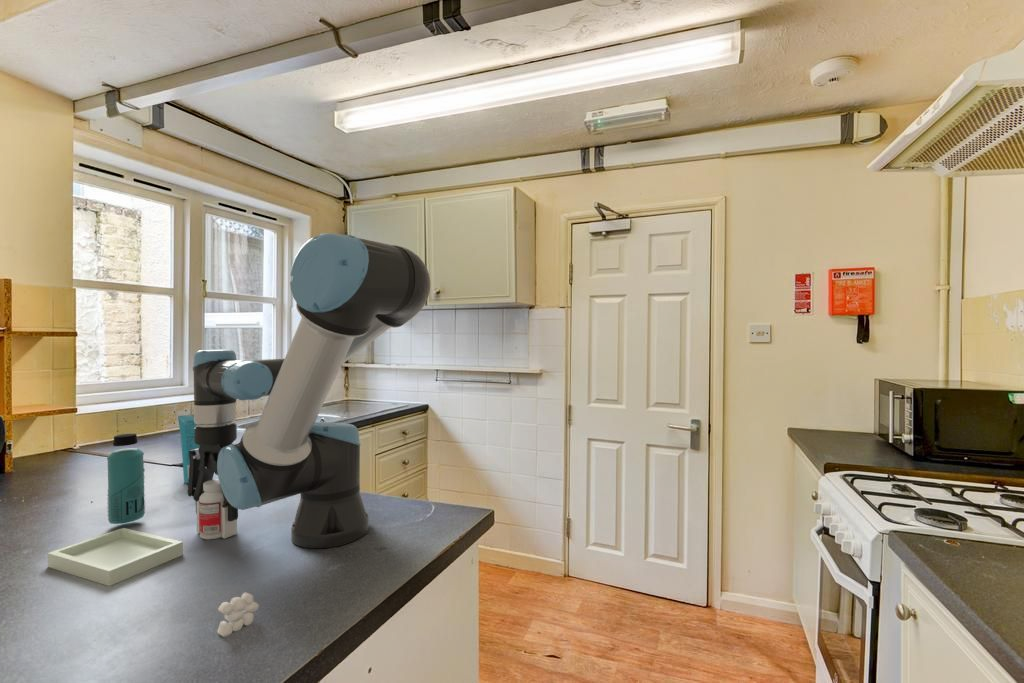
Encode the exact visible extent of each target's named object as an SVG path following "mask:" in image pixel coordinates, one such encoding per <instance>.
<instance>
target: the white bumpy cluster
mask: <svg viewBox="0 0 1024 683" xmlns="http://www.w3.org/2000/svg"><path fill="white" fill-rule="evenodd" d="M259 607H260V606H259V604H258V603H257V602H255V601H254V595H252V593H249V592H246V591H245V592H243V593H242V594H241V596H240V597H239V596H235V597H232V598H231V599H230V602H228V601H224V602H221V604H220V605H219V607H218V608H217V611H218V612H220V613H222V614H223V615H224V616H223V617H224V619H225V620H222V621H219V622H220V623H219V625H218V628H217V632H216V633H217V634H218V635H220V636H221V637H223V638H226V637H229V636H230V635H232V634H233V632H238V631H240V630H242V628H243V626H250V625H252V624H253V622H254V618H255V617H254V612H256V611H258V609H259ZM228 621H229V622H228Z"/></svg>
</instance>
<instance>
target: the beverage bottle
mask: <svg viewBox="0 0 1024 683" xmlns="http://www.w3.org/2000/svg"><path fill="white" fill-rule="evenodd" d="M136 444H138V435H137V434H136V433H124V434H123V433H122V434H118V435H115V436H113V442H112V445H113V447H124V446H132V445H136ZM144 454H145V452H144V451H143V450H141V449H139V448H137V447H127V448H126V447H125V448H120V449H116V450H113V451H112V452H111V453H110V454H109V455H107V457H106V459H107V493H106V495H107V496H106V497H107V509H106V510H107V520H108V522H109V524H113V525H119V524H121V525H122V524H127V523H130V522H135V521H138V520H140V519H142V518H144V516H145V513H146V505H145V503H146V501H145V490H146V488H145V472H146V470H145V462H144Z"/></svg>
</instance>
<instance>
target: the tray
mask: <svg viewBox="0 0 1024 683" xmlns="http://www.w3.org/2000/svg"><path fill="white" fill-rule="evenodd" d="M181 556H184V541H181V540H176V539H174V538H168V537H164V536H160V535H156V534H151V533H148V532H142V531H138V530H134V529H130V528H125V527H122V528H119V529H115V530H112V531H110V532H107V533H104V534H101V535H97V536H95V537H92V538H89V539H85V540H83V541H80V542H76V543H74V544H71V545H69V546H68V545H67V546H65V547H61V548H59V549H56V550H52V551H49V552H48V553H47V568H50V569H53V570H56V571H60V572H63V573H65V574H69V575H71V576H72V575H73V576H76V577H79V578H82V579H85V580H88V581H92V582H95V583H98V584H101V585H104V586H108V587H110V586H113V585H116V584H118V583H120V582H123V581H125V580H127V579H130V578H132V577H135V576H137V575H139V574H141V573H144V572H146V571H149V570H151V569H153V568H155V567H158V566H160V565H163V564H164V563H167V562H170V561H172V560H174V559H177V558H179V557H181Z"/></svg>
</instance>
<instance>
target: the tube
mask: <svg viewBox="0 0 1024 683" xmlns="http://www.w3.org/2000/svg"><path fill="white" fill-rule="evenodd" d="M177 419H178V420H177V421H178V427H179V433H180V445H181V455H182V457H181V458H182V459H181V460H182V470H183V483H185V484H188V480H189V466H190V460H189V454H188V452H189V451H190V450H194V449H198V448H199V447H200V445H197V444H195V442H194V428H195V427H196V426H197V425H198V424H195V423H194V414H186V415H178V416H177Z"/></svg>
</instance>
